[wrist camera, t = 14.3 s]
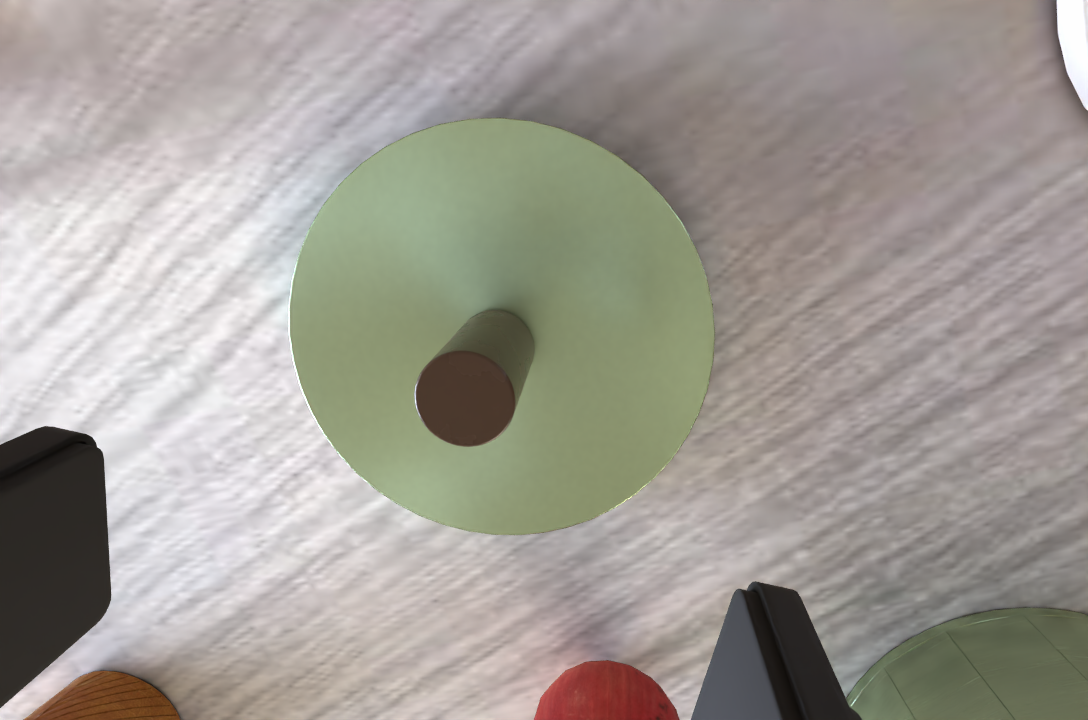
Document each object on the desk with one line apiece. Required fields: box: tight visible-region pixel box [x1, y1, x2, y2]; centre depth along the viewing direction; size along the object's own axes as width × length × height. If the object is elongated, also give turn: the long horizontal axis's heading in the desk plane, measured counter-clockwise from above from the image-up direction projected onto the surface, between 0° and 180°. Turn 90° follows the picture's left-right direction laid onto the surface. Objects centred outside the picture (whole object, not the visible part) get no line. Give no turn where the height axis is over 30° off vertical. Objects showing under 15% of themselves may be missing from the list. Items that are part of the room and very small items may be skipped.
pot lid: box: [289, 118, 715, 535], centre depth 20 cm, size 15×15×7 cm
